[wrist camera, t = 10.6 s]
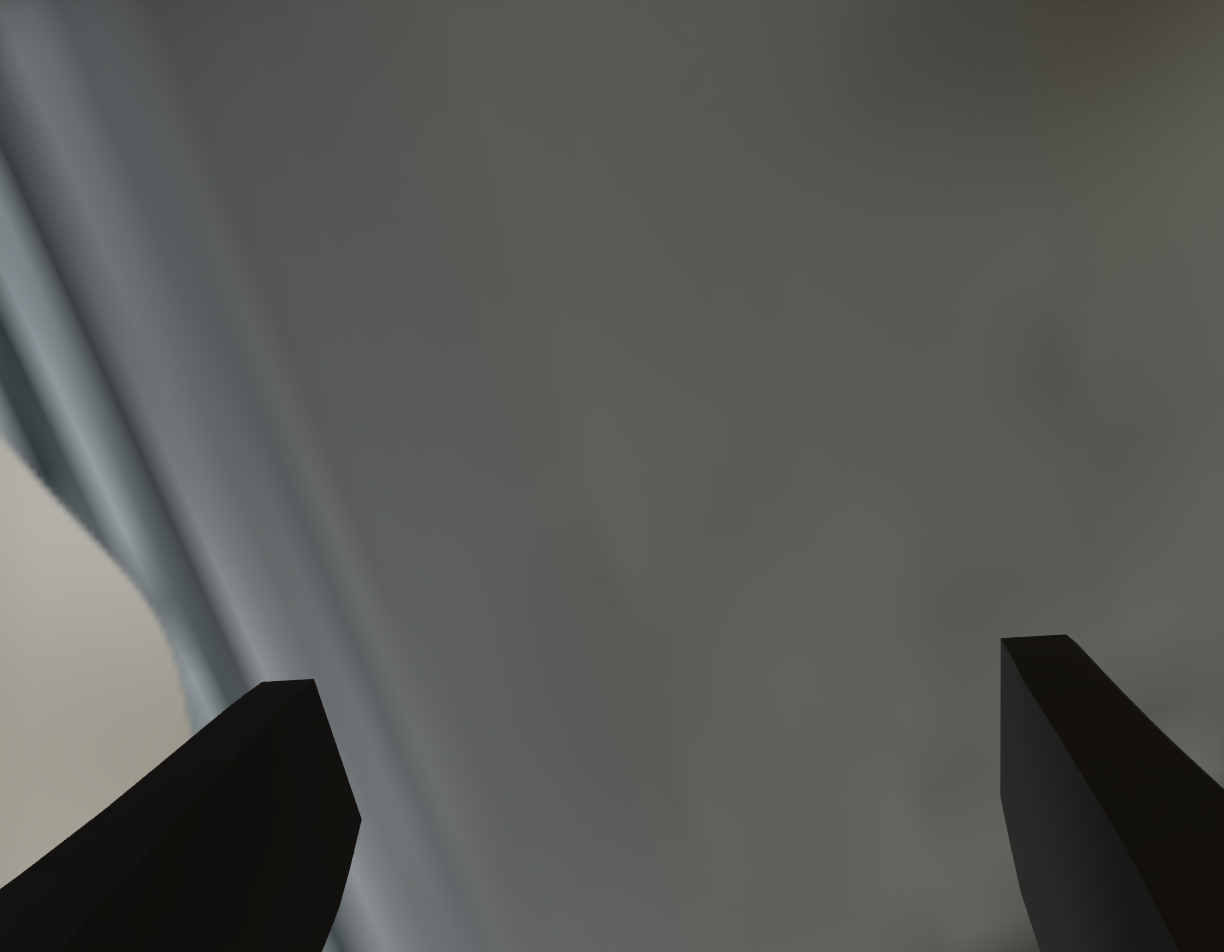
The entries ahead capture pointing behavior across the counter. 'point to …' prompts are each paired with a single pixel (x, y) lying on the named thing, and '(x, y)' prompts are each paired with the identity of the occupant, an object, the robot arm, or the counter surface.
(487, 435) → the counter surface
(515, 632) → the counter surface
